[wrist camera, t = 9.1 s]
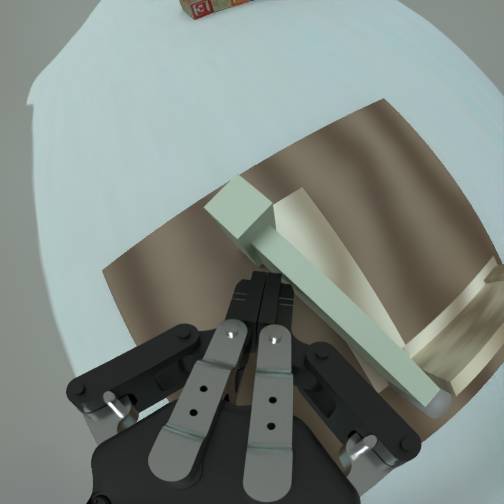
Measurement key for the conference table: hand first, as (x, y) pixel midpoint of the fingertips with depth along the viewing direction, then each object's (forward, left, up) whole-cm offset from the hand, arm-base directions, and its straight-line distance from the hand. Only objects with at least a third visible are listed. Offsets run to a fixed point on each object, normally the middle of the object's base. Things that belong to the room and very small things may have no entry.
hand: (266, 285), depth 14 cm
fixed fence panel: (-11, +11, -5) cm, 16 cm away
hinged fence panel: (-2, +4, -4) cm, 6 cm away
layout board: (-4, +5, -6) cm, 8 cm away
